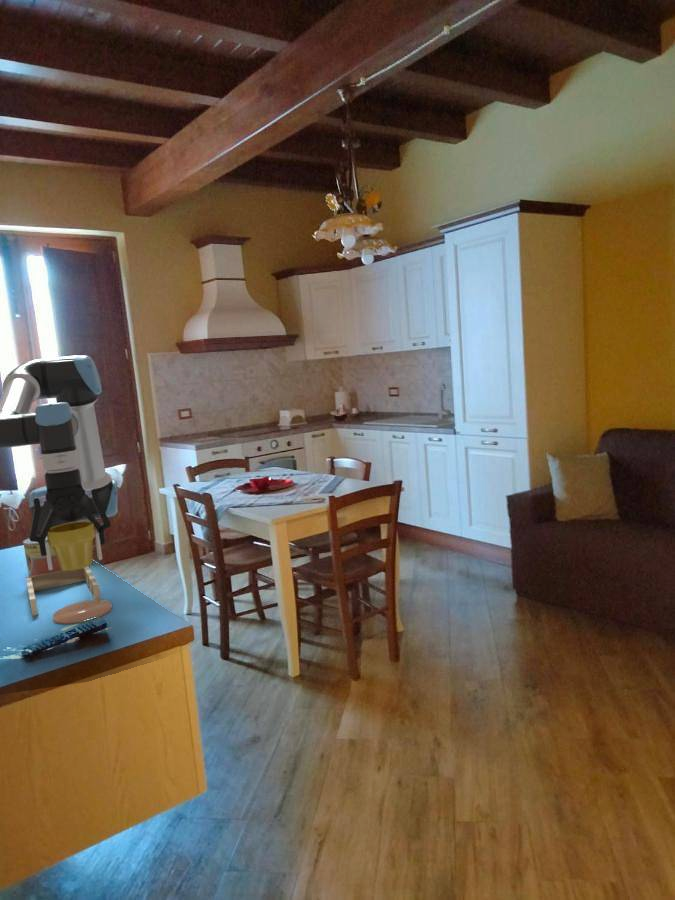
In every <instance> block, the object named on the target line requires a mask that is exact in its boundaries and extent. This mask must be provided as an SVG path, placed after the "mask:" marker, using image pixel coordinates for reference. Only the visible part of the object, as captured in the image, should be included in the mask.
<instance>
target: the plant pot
mask: <svg viewBox="0 0 675 900" xmlns="http://www.w3.org/2000/svg"><path fill="white" fill-rule="evenodd" d="M95 531H96V527H95V526H94V524H93V523H91V522H90V521H89V520H85V521H77V522H70V523H65V524H61V525H57V526H54V527H52V528H50V530H49V532H48V534H47V539H48V542H49V545H50V546H52V547H53V549H54V552H55V554H56V557H57V559H58V561H59V564H60V566H61V569H62V570H63V571H73V570H79V569H82V568H85V567H90V566H91V565H92V563H93V549H94V545H93V544H94V539H95Z"/></svg>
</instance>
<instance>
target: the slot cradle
mask: <svg viewBox="0 0 675 900" xmlns="http://www.w3.org/2000/svg"><path fill="white" fill-rule="evenodd" d="M25 578H26V579H25V580H26V586H27V592H28V597H29V603H30V608H31V609H30V610H31V615H32V617H33V616H38V614H39V613H38V607H37V601H36V594H35V592H40V591H44V590H47V589H54V588H56V587H62V586H67V585H72V584H76V583H81V582H84V581H85V583H86V584H87V586H88V588H89V591H90V592H91V595H92V596H93V598H94V599H93V600H102V598H101V594H100V593H101V591H100V585H99V582H98V581H97V579H96V578H95V576H94V574H93V572H92V571H91V568H90V566H88V567H85V568H82V569H79V570H73V571H63V570H59V571H54V572H50V573H45V574H40V575H35V576H31V577H29V576H26V577H25Z"/></svg>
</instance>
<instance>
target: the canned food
mask: <svg viewBox="0 0 675 900" xmlns="http://www.w3.org/2000/svg"><path fill="white" fill-rule="evenodd" d="M38 536H39V535H38ZM45 540H48V539H47V537H46V539H45ZM22 544H23V549H24V555H25V560H26V561H25V562H26V567H27V573H28V577H31V576H35V575H40V574H45V573H50V572H54V571H59V570H62V569H61V566H60V564H59V561H58V559H57V557H56V554H55V552H54V549H53V547H52V546H50V545H49V548H50V555H51V561H52V568H53V570H49V568H48V562H47V556H42V555H41V552H40V546H39V543H38V542H34V541H33V542H32V541H30V538H29V537H28V538H26V539H24V540H23V541H22Z"/></svg>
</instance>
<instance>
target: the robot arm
mask: <svg viewBox="0 0 675 900" xmlns="http://www.w3.org/2000/svg"><path fill="white" fill-rule="evenodd" d="M1 390H2V394H1V397H0V449H6V448H7V449H8V448H14V447H15V448H16V447H24V446H30V445H31V446H33V445H39V446H40V455H41V461H42V467H43V471H45V472H46V473H44V480H45V486H41V487H37V488H35V489H34V490H31V491H30V492H29V495H28V502H29V506H28V508H29V509H30V515H31V525H30V532H29V535H28V538H30V541H32V542H33V541H34V542H38V543H39V546H40V552H41V555H42V556H47V562H48V568H49V570H53V568H52V561H51V555H50V548H49V542H48V540H45V539H46V537H47V534H48V532H49V530H50V528H52V527H54V526H57V525H61V524H65V523H70V522H77V521H90V522H91V523H93V524H94V527H95V537H94V540H95V541H94V542H95V549H96V555H97V559H98V560H99V561H101V560H103V553H102V546H103V545H105V543H106V539H105V533H104V531H105V530H106V529H108V528H110V527H111V526H112V523H111V521H110V520H109V517H114V516H116V515H117V513H118V480H116V479H115V480H114V479H112V475H111V474H110V473H109V472H106V468H105V461H104V456H103V449H102V446H101V445H102V443H101V439H100V438H101V437H100V434H99V433H100V432H99V427H98V422H97V417H96V411H95V403H96V402H98V399H99V396H98V395H100V394H101V393H102V391H103V390H102V383H101V380H100V374H99V372H98V369H97V366H96V364H95V361H94V359H93V358H92V357H91V356H90V355H67V356H58V357H57V356H56V357H47V358H46V357H45V358H36V359H32V360H29V361H25V362H24V363H21V364H20V365H18V366H17V367H16V368H14V369H13V370H11V371H10V372H9V373H8V374H7V375H6V377H5V379H3V382H2V389H1ZM43 399H44V400H46V399H55V400H56V402H50V403H43V404H37V405H36V406H35V408H34V412H32V413H31V411H30V410H31V408H32V405H33V403H34V402H35V401H37V400H43ZM97 519H98V520H99V519H101V521H102V523H99V521H98V520H97ZM38 535H39V536H38Z"/></svg>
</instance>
